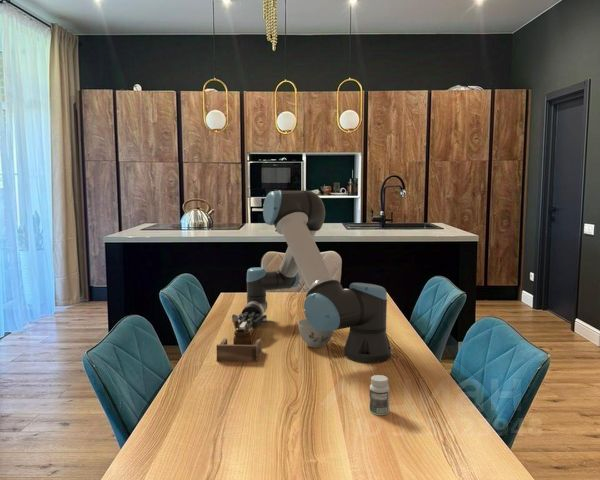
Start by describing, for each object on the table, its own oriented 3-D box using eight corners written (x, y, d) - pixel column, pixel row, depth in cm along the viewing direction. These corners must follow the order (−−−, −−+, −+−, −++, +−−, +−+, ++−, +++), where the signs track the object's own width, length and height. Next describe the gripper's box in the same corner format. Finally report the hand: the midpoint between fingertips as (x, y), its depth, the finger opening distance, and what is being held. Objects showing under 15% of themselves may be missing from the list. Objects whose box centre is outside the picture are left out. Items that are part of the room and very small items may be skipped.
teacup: (333, 352, 167) (333, 328, 166) (295, 350, 169) (295, 327, 168) (335, 338, 182) (335, 316, 181) (301, 337, 184) (301, 315, 183)
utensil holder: (251, 354, 165) (250, 318, 163) (231, 354, 165) (231, 318, 163) (252, 348, 171) (251, 313, 169) (233, 349, 170) (232, 314, 169)
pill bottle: (375, 405, 127) (376, 372, 126) (392, 410, 124) (393, 377, 123) (365, 412, 123) (366, 378, 122) (382, 417, 120) (383, 383, 119)
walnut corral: (223, 350, 169) (223, 335, 169) (260, 350, 169) (260, 336, 168) (216, 361, 159) (216, 345, 158) (256, 361, 158) (256, 346, 158)
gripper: (269, 323, 193) (261, 342, 170) (235, 322, 194) (222, 341, 171) (269, 303, 192) (260, 320, 169) (235, 303, 193) (222, 319, 170)
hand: (241, 331), depth 170 cm, fingers closed
